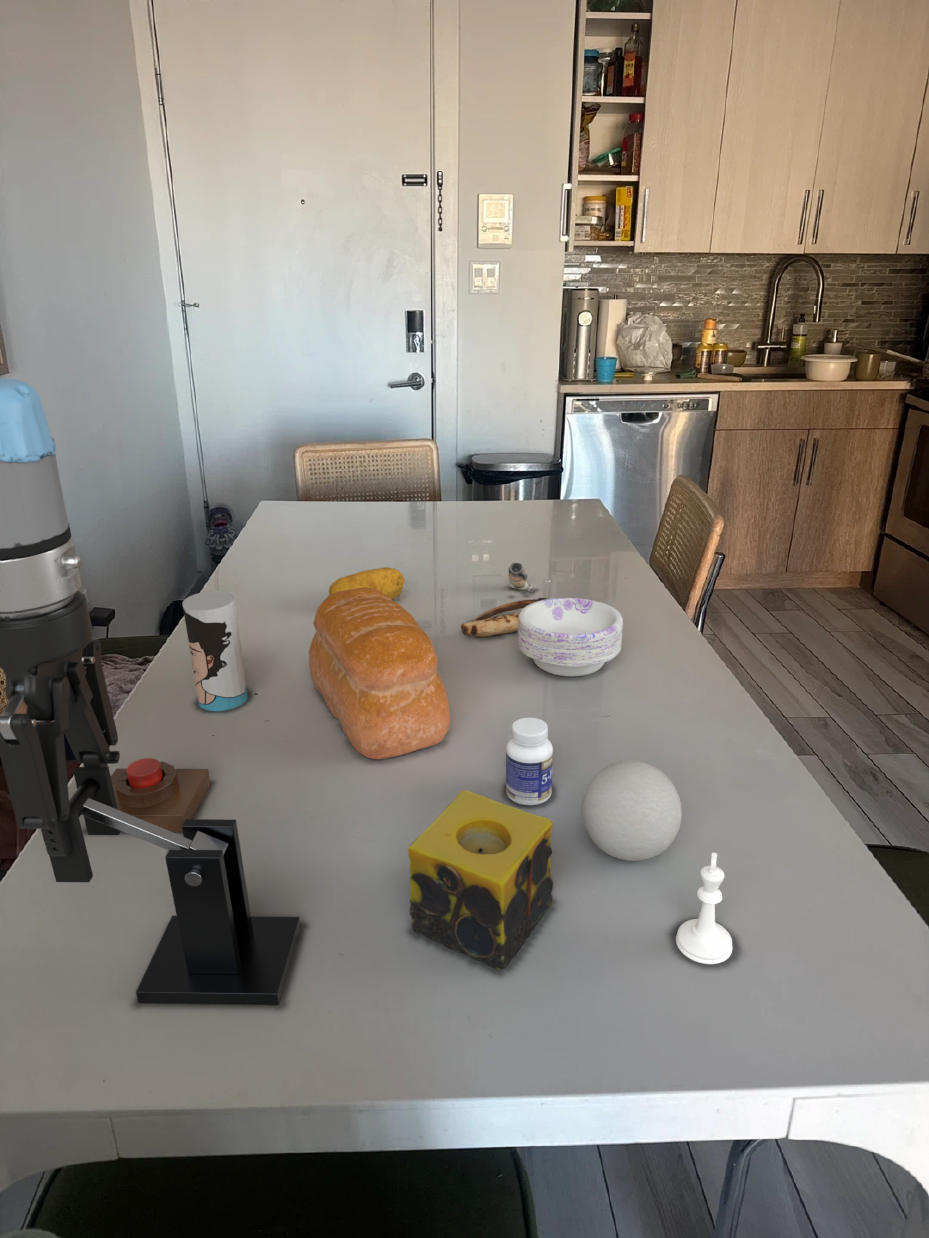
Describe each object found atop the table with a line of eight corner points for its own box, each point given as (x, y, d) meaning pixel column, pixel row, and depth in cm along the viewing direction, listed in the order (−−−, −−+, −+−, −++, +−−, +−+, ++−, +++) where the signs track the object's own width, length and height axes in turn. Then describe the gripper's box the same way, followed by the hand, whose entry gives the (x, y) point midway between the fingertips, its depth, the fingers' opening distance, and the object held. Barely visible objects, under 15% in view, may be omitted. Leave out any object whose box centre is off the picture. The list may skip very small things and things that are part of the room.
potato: (414, 606, 151) (412, 569, 148) (339, 622, 145) (335, 584, 143) (396, 591, 157) (394, 556, 155) (323, 606, 152) (320, 570, 149)
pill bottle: (550, 808, 97) (551, 740, 94) (503, 804, 98) (503, 737, 95) (553, 781, 102) (555, 715, 99) (508, 778, 103) (508, 712, 99)
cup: (221, 683, 126) (207, 587, 120) (257, 693, 123) (245, 595, 117) (187, 704, 121) (171, 605, 114) (225, 715, 118) (210, 614, 112)
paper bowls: (592, 635, 139) (594, 589, 136) (639, 676, 126) (642, 626, 122) (502, 650, 134) (502, 602, 131) (541, 695, 121) (542, 643, 118)
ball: (583, 881, 86) (587, 797, 82) (577, 819, 95) (580, 741, 91) (685, 883, 86) (694, 799, 82) (669, 821, 95) (676, 742, 91)
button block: (87, 831, 95) (79, 801, 94) (119, 783, 103) (113, 755, 102) (186, 831, 95) (180, 801, 93) (211, 784, 103) (206, 755, 101)
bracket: (138, 1003, 74) (107, 873, 68) (174, 925, 82) (149, 804, 76) (278, 1005, 73) (259, 874, 68) (300, 927, 81) (285, 805, 76)
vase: (526, 600, 153) (526, 568, 150) (497, 595, 155) (497, 564, 152) (537, 589, 157) (537, 558, 155) (509, 585, 159) (509, 554, 157)
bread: (390, 661, 132) (385, 567, 126) (461, 744, 110) (458, 635, 104) (303, 679, 127) (293, 582, 121) (359, 771, 105) (350, 658, 99)
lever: (50, 830, 69) (58, 808, 68) (79, 791, 74) (87, 770, 73) (205, 892, 71) (216, 872, 70) (224, 851, 76) (233, 831, 75)
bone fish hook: (541, 609, 150) (445, 627, 143) (541, 583, 148) (444, 600, 141) (569, 627, 142) (470, 647, 135) (570, 600, 140) (469, 619, 133)
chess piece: (733, 929, 80) (745, 841, 76) (731, 969, 76) (744, 878, 72) (678, 919, 81) (687, 831, 77) (673, 957, 77) (682, 867, 73)
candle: (464, 868, 88) (462, 786, 84) (554, 903, 84) (557, 817, 80) (407, 932, 80) (402, 845, 76) (504, 974, 76) (503, 883, 72)
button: (124, 789, 96) (121, 775, 95) (136, 770, 99) (133, 757, 99) (156, 789, 96) (153, 775, 95) (167, 770, 99) (164, 757, 98)
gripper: (15, 654, 55) (87, 935, 65) (128, 556, 72) (171, 790, 81) (-100, 655, 55) (-12, 934, 65) (39, 557, 72) (93, 790, 82)
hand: (90, 854), depth 73 cm, fingers open, 5 cm apart
